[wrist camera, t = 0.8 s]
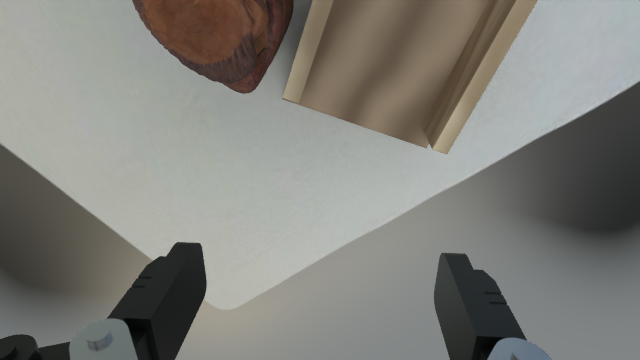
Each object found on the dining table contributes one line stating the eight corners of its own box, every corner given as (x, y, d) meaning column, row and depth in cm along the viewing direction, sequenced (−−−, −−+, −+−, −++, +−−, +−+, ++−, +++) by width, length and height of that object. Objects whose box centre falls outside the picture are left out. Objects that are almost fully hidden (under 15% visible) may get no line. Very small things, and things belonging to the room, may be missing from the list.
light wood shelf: (283, 94, 41) (275, 118, 35) (347, -109, 32) (349, -119, 26) (423, 142, 43) (436, 171, 38) (519, -34, 34) (554, -29, 29)
